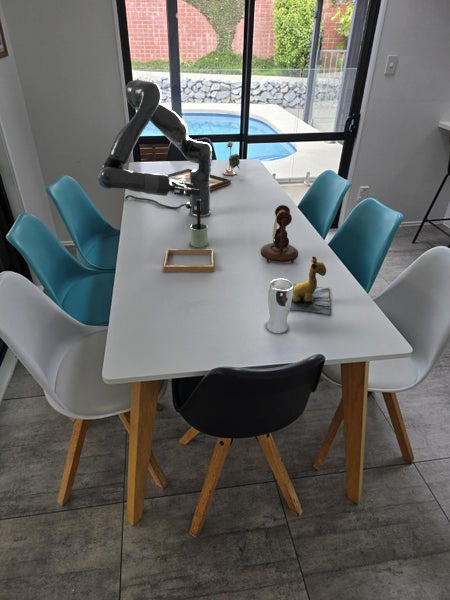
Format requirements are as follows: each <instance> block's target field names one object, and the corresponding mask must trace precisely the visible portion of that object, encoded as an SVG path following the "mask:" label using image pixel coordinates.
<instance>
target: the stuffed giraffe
mask: <svg viewBox="0 0 450 600" xmlns="http://www.w3.org/2000/svg"><path fill="white" fill-rule="evenodd" d="M317 274H318V275H320V276H321V277H324V276H326V274H327V268H326V265H325V263H324V262H323V261H321V260H318V258H317V257H316V256H315V255H313V256H312V257H311V265H310V268H309V271H308V280H306V281H303V282H300V283H297V284H294V283H293V285H294V287H293V300H292V305H291V308H290V310H292V311H304V312H310V313H318V314H324V315H330V316H331V303H330V301H331V299H330V292H329V291H330V289H329V287H318V280H317Z"/></svg>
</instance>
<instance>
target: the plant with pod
mask: <svg viewBox="0 0 450 600" xmlns="http://www.w3.org/2000/svg"><path fill="white" fill-rule="evenodd" d="M233 144H234V142H233V141H231V140H228V142H227V144H226V149H228V148H229V158H228V163H229V168H226V169H225V171H224V170H223V172H222V173H223V174H224V175H225V176H226V175H227V176H230V175H235V174H237V172H235V171H234V169H235V168H236V167H237V168H238V170H241V168H240V166H239V165H240V161H241V160H240V154H238V153H234V154H232V148H233Z"/></svg>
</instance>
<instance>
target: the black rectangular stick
mask: <svg viewBox="0 0 450 600" xmlns="http://www.w3.org/2000/svg"><path fill="white" fill-rule="evenodd" d="M201 218H202V217H201V214H200V199H197V217H196V223H197V230H201V223H202V222H201V221H202V219H201Z"/></svg>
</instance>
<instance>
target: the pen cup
mask: <svg viewBox="0 0 450 600" xmlns="http://www.w3.org/2000/svg"><path fill="white" fill-rule="evenodd" d="M189 228H190V229H189V234H190V246H191V247H195V248H204V247H206V246H207V245H208V244H209V241H208V239H209V237H208V235H209V234H208V231H209V230H208V229H209V228H208V225H207V224H206V223H202V222H201V230H197V222H196V223H193V224H190V226H189Z"/></svg>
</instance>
